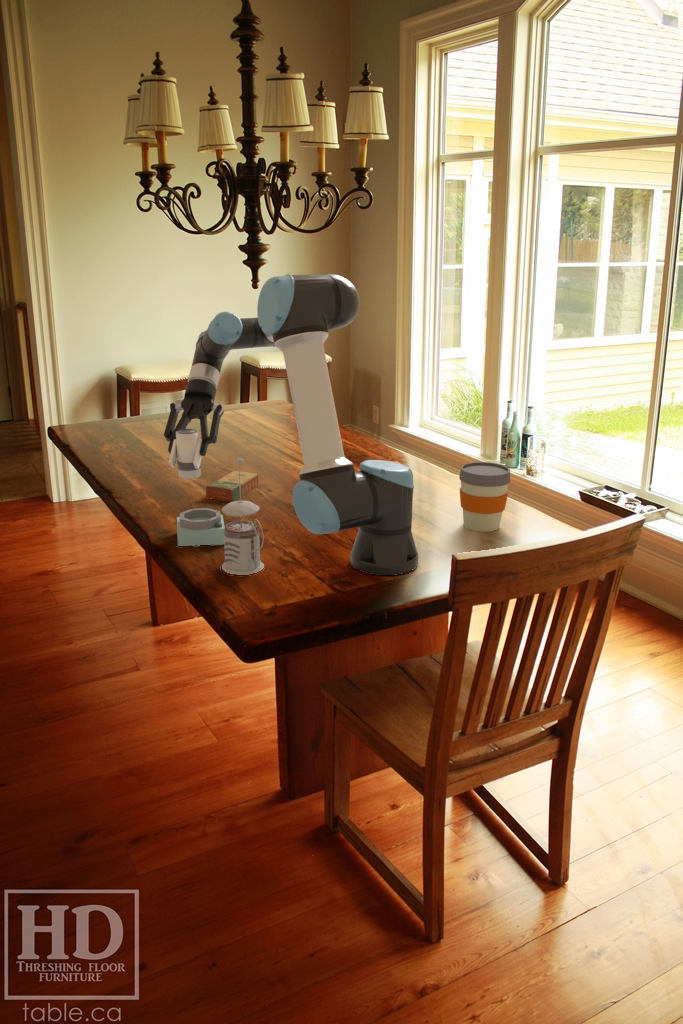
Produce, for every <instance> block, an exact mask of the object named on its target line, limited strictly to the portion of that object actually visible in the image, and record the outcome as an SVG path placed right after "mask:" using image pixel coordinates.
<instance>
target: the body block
mask: <svg viewBox="0 0 683 1024" xmlns="http://www.w3.org/2000/svg"><path fill="white" fill-rule="evenodd" d="M224 521H225V520H224V517H223V514H221V511H220V510H216V509H214V508H213V509H212V508H208V507H203V508H191V509H188V510H187V509H186V511H182V512H179V516H177V517H176V534H177V536H176V537H177V547H178V546H189V545H190V546H191V545H192V546H193V547H201V546H200V545H210V546H223V545H225V543H224V532H225V531H226V529H225V522H224ZM196 545H197V546H196Z"/></svg>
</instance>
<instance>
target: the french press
mask: <svg viewBox="0 0 683 1024" xmlns="http://www.w3.org/2000/svg"><path fill="white" fill-rule="evenodd" d="M234 464H235V465H238V471H239V486H240V498H239V500H235V501H234V502H229V503H227V504H225V506H224V505H223V507H222V508H221V512H222V513H223V514H224V515H226V516H228V517H235V518H236V517H238V518H240V520H234V521H231V522H228V523H227V524H226V525H224V527H225V532H224V543H225V545H224V546H223V547H224V548H223V549H224V562H223V563H222V565H221V566H222V569H223V570H224V571H225V572H227V573H230V574H237V575H249V574H253V573H257V572H259V571H261V570H262V569H263V568H264V566H265V564H264V563H263V562H262V561H261V550H262V548H263V546H264V542H265V540H264V539H265V536H264V530H263V527H262V526H263V525H262V524H261V522H260V521H259V520H258V518H254V519H253V520H254V522H253V521H251V520H249V519H248V520H243V519H242V518H244V517H249V516H253V515H255V514H257V513H258V512H259V511H260V506H259V505H257V504H255V503H253V502H252V501H250V500H249V501H248V500H242V497H241V483H240V472H241V465H244V464H245V460H244V459H243V458H242V457H241V458H240V457H238V458H236V459H235V460H234ZM256 522H257V523H256ZM258 524H259V526H258ZM258 527H260V529H261V533H262V542H260V531H259V529H258ZM252 535H255V536H253V537H250V538H249V536H252ZM242 537H248V538H242ZM252 541H253V542H252ZM260 543H261V546H260ZM252 546H253V547H252ZM264 569H265V568H264ZM264 569H263V570H264ZM261 572H262V571H261ZM259 573H260V572H259ZM257 574H258V573H257ZM249 576H250V575H249Z"/></svg>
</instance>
